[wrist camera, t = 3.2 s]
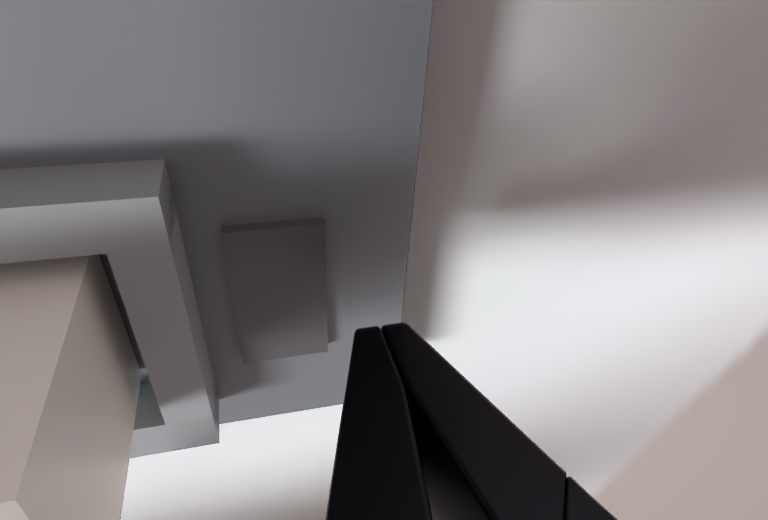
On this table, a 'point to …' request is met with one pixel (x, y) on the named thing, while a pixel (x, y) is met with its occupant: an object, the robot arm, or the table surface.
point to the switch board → (219, 185)
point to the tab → (63, 392)
